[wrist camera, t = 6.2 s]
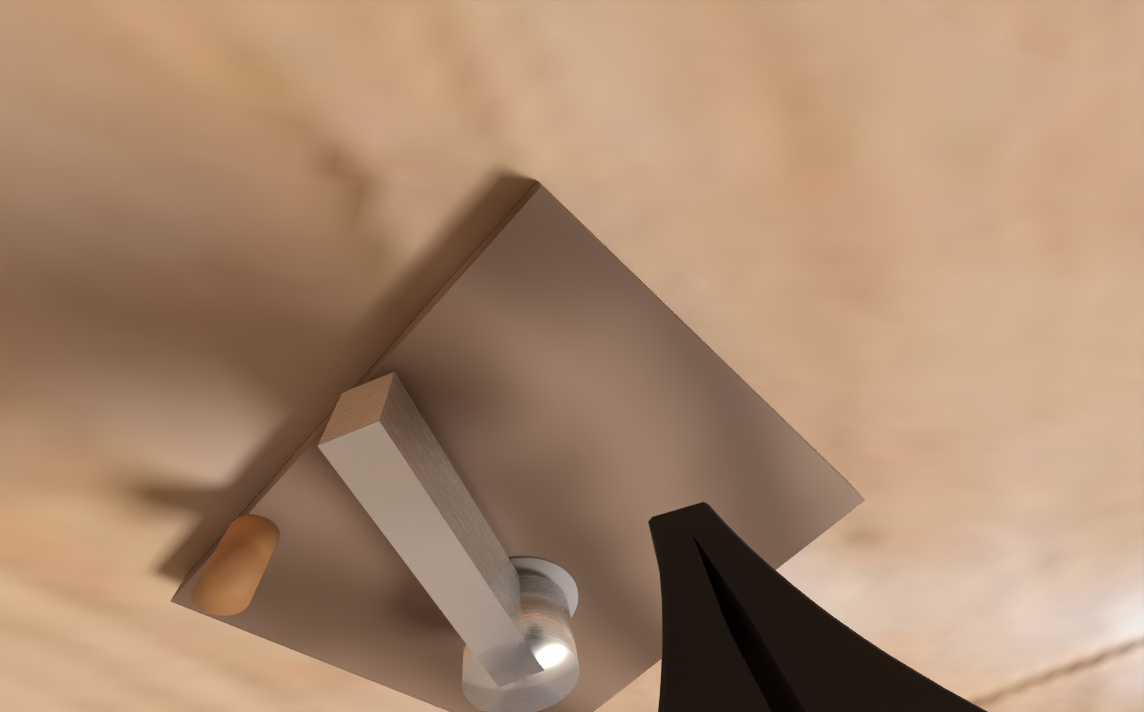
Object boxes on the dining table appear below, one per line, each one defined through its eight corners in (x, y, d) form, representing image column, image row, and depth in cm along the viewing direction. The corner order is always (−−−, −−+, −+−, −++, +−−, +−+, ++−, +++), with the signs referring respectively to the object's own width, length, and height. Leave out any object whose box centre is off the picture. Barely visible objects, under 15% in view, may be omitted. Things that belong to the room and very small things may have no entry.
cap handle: (582, 624, 19) (595, 689, 17) (490, 660, 20) (491, 729, 17) (431, 356, 14) (422, 403, 12) (305, 407, 14) (274, 463, 12)
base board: (542, 725, 24) (551, 812, 21) (179, 573, 18) (119, 669, 15) (848, 482, 20) (910, 547, 17) (531, 174, 14) (545, 197, 11)
